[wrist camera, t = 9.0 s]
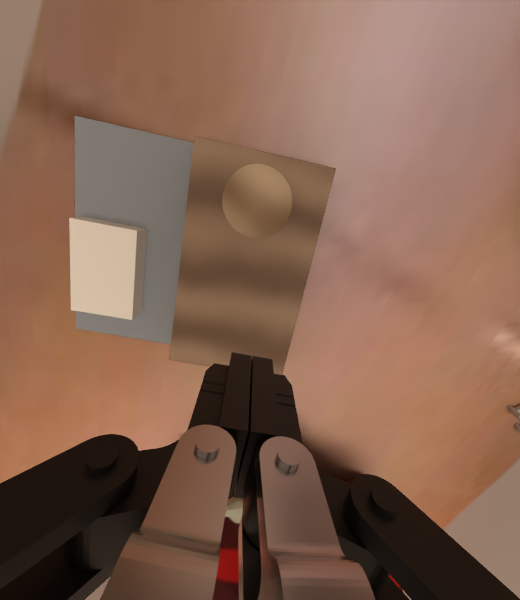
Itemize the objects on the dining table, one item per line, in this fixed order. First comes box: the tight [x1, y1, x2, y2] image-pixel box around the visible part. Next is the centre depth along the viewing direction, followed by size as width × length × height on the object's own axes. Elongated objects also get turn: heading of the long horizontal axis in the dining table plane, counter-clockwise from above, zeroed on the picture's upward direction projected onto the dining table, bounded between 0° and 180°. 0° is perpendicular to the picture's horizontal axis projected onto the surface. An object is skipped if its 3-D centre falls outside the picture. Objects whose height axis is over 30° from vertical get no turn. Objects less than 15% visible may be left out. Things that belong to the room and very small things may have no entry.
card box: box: [69, 217, 147, 320], centre depth 28 cm, size 9×6×2 cm, turn 169°
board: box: [169, 136, 336, 375], centre depth 28 cm, size 21×12×4 cm, turn 169°
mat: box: [75, 116, 193, 344], centre depth 29 cm, size 21×11×1 cm, turn 169°
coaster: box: [222, 164, 292, 238], centre depth 24 cm, size 6×6×1 cm
